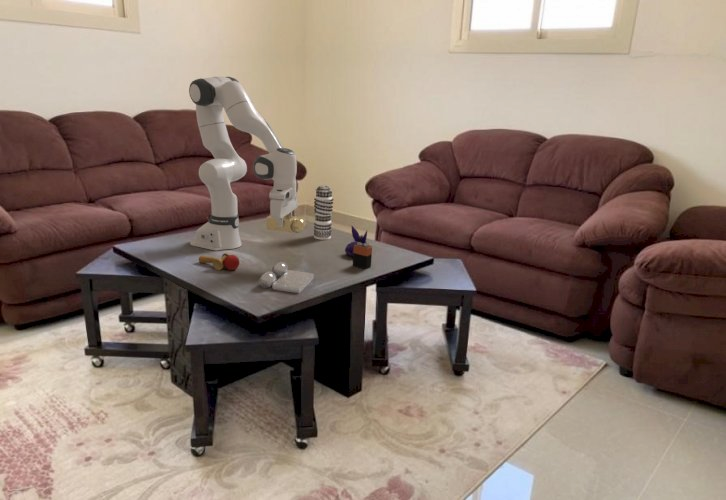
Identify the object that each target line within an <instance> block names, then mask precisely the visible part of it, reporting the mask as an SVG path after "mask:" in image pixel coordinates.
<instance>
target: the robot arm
mask: <svg viewBox="0 0 726 500" xmlns="http://www.w3.org/2000/svg"><path fill="white" fill-rule="evenodd" d="M188 93H189V97H190V99H191V101H192V102H193V104H195V113H196V121H197V126H198V127H197V128H198V130H199V133H200V134H199V135H200V137H201V141H202V145H203V147H204V148H205V149H206V150H208V151H209V152H210V153H211V155H212V156H213V158H212V159H208V160H207V161H204V162H203V163H202V164H201V165H200V167H199V168H198V177H199V179H200V181H201V182H202V183H203V184H204V185H205V186H206V187H207V190H208V192H209V196H210V204H211V207H210V208H211V213H209V214H208V215H206V216H205V217H206V220H208V221H207V222H206V223H204V224H203V225H202V226H200V227H199V228H197V229H196V232H195V237H194V238H193V239H192V240H191V241H190V242H189V245H190V246H192V247H197V248H202V249H206V250H211V251H215V252H217V251H222V250H223V251H224V250H233V249H237V248H239V247H241V246H242V245H243V244H242V240H241V237H240V236H241V235H240V229H239V224H240V219H239V218H240V217H239V213H238V197H237V195H236V194H235V193H233V191H232V187H231V183H233V182H237V181H239V180H240V179H242V178H243V177H245V175H246V174H247V172H248V166H247V162H246V160H244V159H243V158H242V157H240V156H239V154H238V153H237V151H236V150H235V148H234V146H233V144H232V142H231V139H230V136H229V132H228V129H227V125H226V122H225V118H224V115H223V110H224V112H225V113H226V116H227V118H228V120H229V121H230V124H231V125H232V126H233V127H234V128H235V129H237V130H239V131H241V132H243V133H248V134H251V135H253V136H255V137H256V138H258V139H259V140H260V141H261V142H262V144H263V145H264V147H265V148H266V150H267V152H268V153H267V154H262V155H259V156H257V157H256V158H255V159H254V161H253V165H252V167H253V172H254V173H253V174H255V176H256V177H257V178H258V179H259V180H262V181H263V180H264V181H265V180H273V186H272V189H271V190H270V192H269V194H268V196H269V199H270V202H269V209H270V210H269V212H270V214H269V215H271V217H272V218H274V219H277V221H278V226H279V227H283V226H284V222H283V217H284V216H285V215H288V216H293V212H294V211H296V209H297V208H298V203H299V202H298V192H297V179H296V177H297V172H298V170H297V169H298V168H297V166H298V163H297V156H296V153H295V151H293V150H292V149H290V148H284V147H283V145H282V143H281V142H280V140H279V138H278V137H277V135H276V134H275V132H274V131H273V128H272V127H271V125H269V123H268V122H267V121H266V119H264V117H262V116H261V114H260V113H259V112H258V110H257V109H256V107H255V106H254V104H253V102H252V100H251V98H250V96H249V94H248V93H247V91H246V90H245V89H244V87H243V85H242V84H241V83H240V82H239V80H237V79H236V78H234V77H231V76H212V77H205V78H201V77H200V78H196V79H194V80H192V81H191V82H190V85H189V89H188Z"/></svg>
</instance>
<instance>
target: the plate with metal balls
mask: <svg viewBox="0 0 726 500" xmlns="http://www.w3.org/2000/svg"><path fill="white" fill-rule="evenodd" d="M314 275H315V274H314V273H312V272H306V271H299V270H291V269H289V266H288V264H287V263H286V262H285V261H278V262H276V264H275V265H274V266H273V267H272V268H271V271H266V272H265V273H263V274H262V275H261V276H260V277H259V279H258V283H259V285H260V287H262V288H264V289H269V288H271V286H272V290H275V291H283V292H288V293H295V294H300V293H301V292H302V291H303V290H304V289H305V288H306V287H307V286H308V285H309V283H311V281H313V280H314V277H315V276H314Z"/></svg>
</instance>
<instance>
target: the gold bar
mask: <svg viewBox="0 0 726 500" xmlns="http://www.w3.org/2000/svg"><path fill="white" fill-rule="evenodd" d="M283 222H284V226H283V227H279V226H278V221H277V219H274V218H272V217H271V214H269V215H268V216H266V230H271V231H278V232H285V233H286V232H287V233H295V234H299V233H300V232H302V231H303V230H305V229H306V228H307V227H308V221H307V219H306V218H305V217H303V216H294V215H292V216H288V215H285V216H284V217H283Z"/></svg>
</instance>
